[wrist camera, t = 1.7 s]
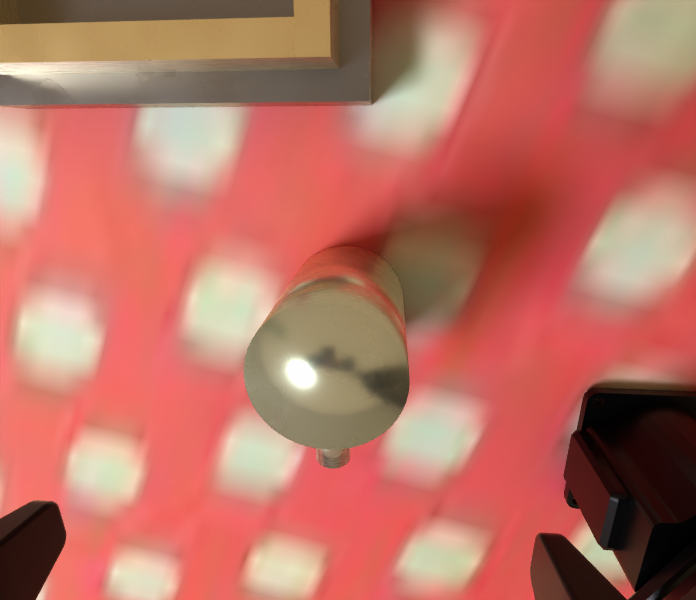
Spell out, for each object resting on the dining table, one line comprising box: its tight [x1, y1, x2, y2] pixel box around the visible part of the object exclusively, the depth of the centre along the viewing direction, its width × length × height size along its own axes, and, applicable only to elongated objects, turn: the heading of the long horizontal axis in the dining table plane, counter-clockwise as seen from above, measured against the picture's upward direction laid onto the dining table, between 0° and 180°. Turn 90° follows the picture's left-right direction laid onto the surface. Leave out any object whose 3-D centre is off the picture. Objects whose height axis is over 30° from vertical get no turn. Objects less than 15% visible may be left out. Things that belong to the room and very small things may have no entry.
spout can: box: [244, 246, 409, 468], centre depth 17 cm, size 5×6×7 cm
